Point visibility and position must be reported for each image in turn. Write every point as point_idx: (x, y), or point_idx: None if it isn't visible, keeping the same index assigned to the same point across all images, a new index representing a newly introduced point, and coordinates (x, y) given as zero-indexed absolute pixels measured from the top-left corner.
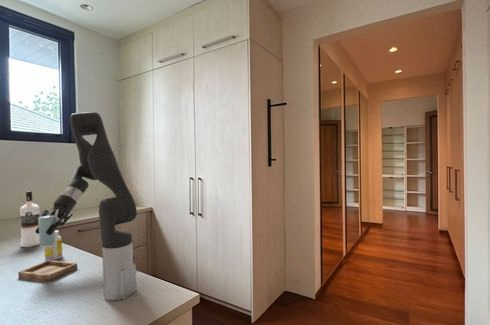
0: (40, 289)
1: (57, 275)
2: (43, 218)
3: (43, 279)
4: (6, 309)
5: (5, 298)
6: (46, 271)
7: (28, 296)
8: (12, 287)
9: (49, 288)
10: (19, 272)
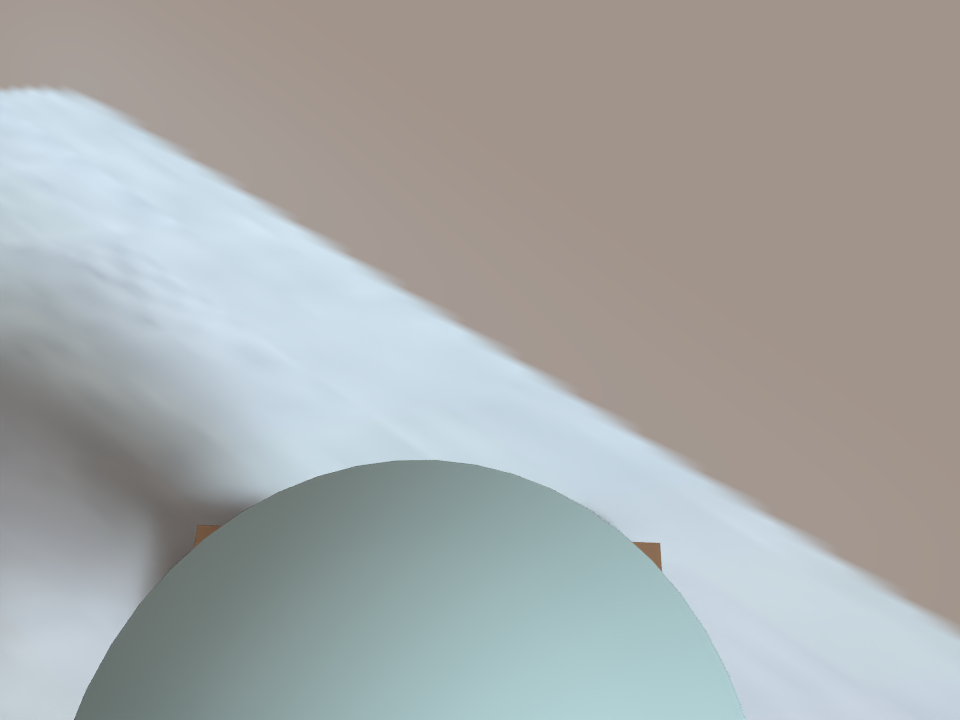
0: (182, 415)
1: None
2: (269, 501)
3: None
4: (180, 164)
5: (347, 263)
6: None
7: (182, 310)
8: (489, 402)
9: (107, 443)
10: (643, 543)
